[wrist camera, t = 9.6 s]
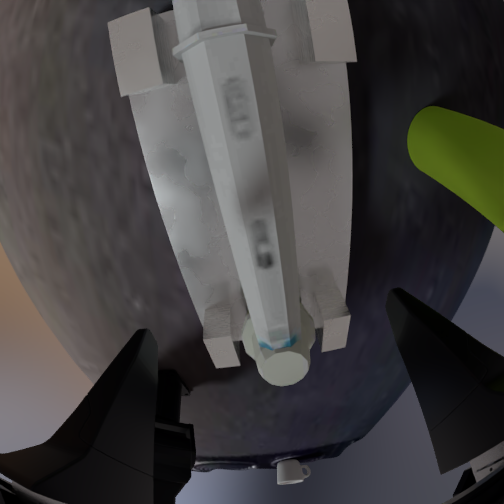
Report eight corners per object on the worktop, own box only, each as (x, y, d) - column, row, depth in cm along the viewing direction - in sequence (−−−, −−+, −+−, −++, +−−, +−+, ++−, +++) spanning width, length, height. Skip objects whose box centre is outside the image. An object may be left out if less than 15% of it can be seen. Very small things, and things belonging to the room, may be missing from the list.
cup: (312, 455, 66) (316, 477, 60) (303, 461, 70) (306, 481, 64) (279, 458, 64) (282, 481, 58) (271, 464, 68) (274, 485, 62)
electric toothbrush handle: (274, -40, 6) (327, 398, 17) (261, 11, 12) (309, 337, 23) (144, -16, 6) (254, 411, 17) (176, 27, 12) (250, 347, 23)
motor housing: (333, 299, 26) (359, 367, 20) (211, 319, 26) (209, 392, 20) (303, -57, 9) (343, -111, 2) (125, -30, 9) (73, -72, 2)
